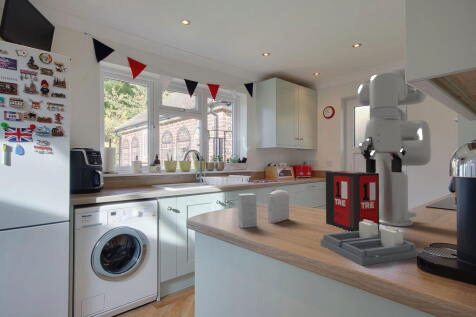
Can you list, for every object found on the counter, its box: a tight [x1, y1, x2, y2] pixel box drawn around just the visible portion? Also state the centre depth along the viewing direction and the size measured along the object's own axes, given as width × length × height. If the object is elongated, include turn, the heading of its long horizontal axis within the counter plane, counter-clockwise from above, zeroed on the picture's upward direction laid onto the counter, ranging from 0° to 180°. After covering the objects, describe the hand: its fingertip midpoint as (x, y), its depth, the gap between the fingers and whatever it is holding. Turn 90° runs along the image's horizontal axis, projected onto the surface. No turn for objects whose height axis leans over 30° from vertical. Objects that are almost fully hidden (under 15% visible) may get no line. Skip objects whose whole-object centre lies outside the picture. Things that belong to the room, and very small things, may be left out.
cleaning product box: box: [325, 170, 380, 233], centre depth 96 cm, size 16×9×20 cm, turn 20°
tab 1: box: [359, 219, 378, 238], centre depth 77 cm, size 3×4×5 cm
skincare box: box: [237, 192, 258, 229], centre depth 98 cm, size 6×4×12 cm
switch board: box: [320, 231, 420, 266], centre depth 72 cm, size 18×16×3 cm
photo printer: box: [267, 189, 290, 224], centre depth 107 cm, size 10×4×12 cm, turn 133°
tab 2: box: [380, 225, 404, 247], centre depth 69 cm, size 3×4×5 cm
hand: (383, 172), depth 79 cm, fingers open, 9 cm apart
